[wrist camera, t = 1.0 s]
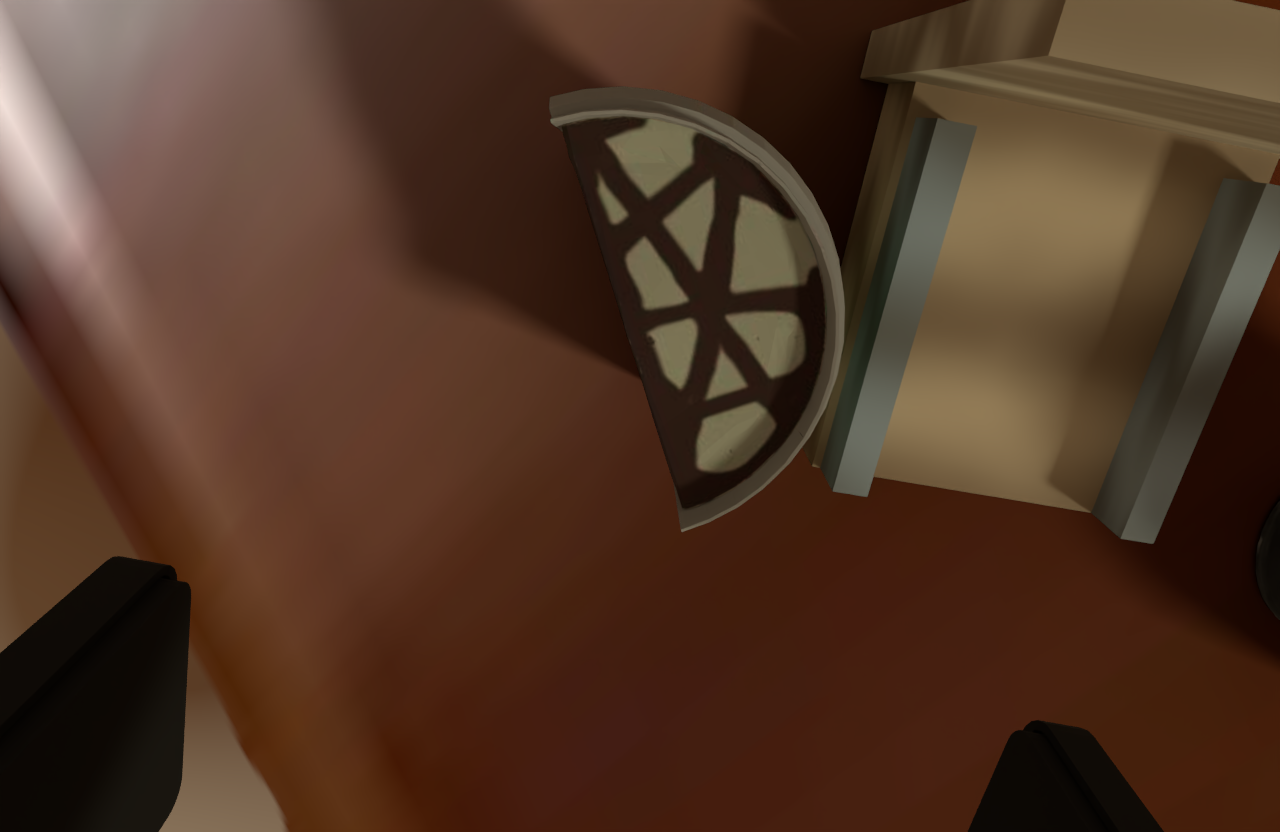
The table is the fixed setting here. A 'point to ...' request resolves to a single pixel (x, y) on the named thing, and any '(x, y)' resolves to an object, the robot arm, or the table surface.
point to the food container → (710, 284)
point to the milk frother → (1270, 561)
